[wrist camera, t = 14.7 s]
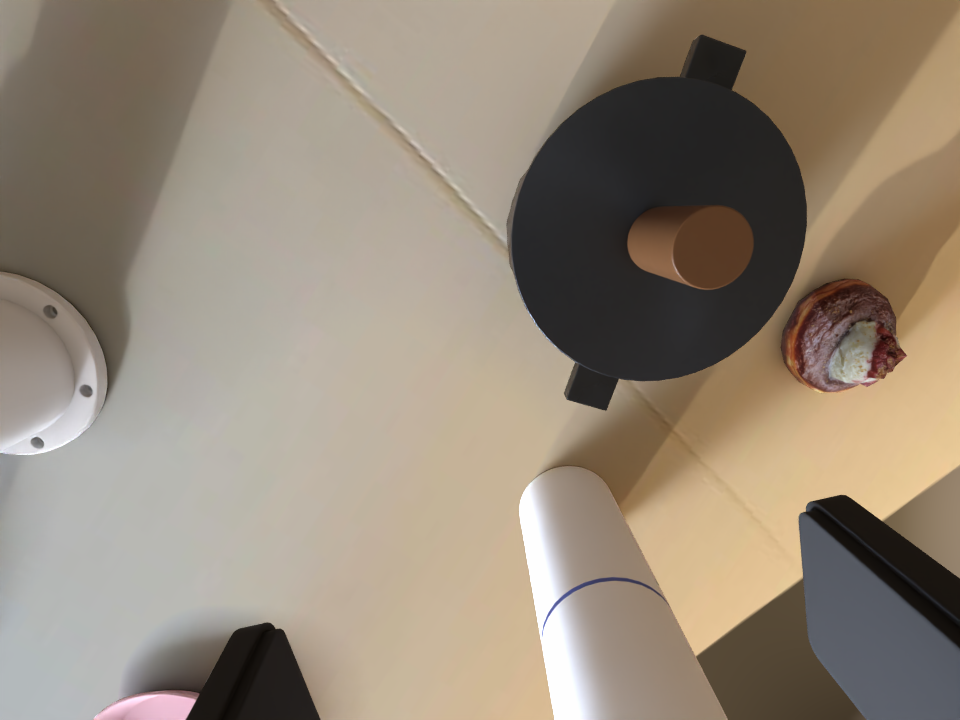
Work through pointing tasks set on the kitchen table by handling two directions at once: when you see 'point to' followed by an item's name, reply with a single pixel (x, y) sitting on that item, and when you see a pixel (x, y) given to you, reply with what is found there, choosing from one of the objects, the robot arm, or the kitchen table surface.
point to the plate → (151, 706)
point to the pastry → (841, 337)
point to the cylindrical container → (604, 610)
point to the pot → (701, 63)
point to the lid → (658, 228)
